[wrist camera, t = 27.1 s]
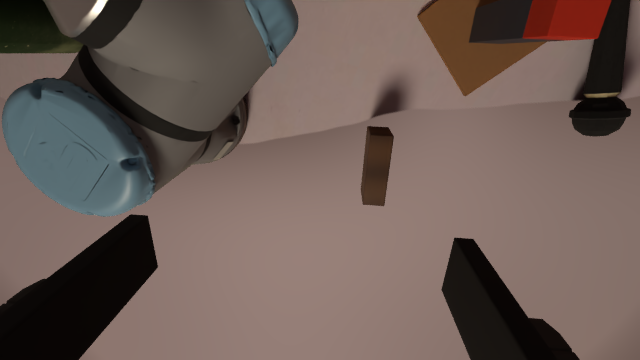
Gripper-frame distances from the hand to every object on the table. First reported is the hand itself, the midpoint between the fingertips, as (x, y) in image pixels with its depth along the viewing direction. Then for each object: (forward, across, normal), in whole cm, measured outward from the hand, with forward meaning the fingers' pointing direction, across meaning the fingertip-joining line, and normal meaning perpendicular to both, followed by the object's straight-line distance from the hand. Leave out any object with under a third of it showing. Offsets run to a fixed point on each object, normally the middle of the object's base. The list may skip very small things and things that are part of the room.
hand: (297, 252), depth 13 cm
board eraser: (+33, +7, -6) cm, 34 cm away
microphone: (+33, +34, +9) cm, 48 cm away
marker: (+24, +19, +12) cm, 33 cm away
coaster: (+33, +19, +12) cm, 40 cm away
